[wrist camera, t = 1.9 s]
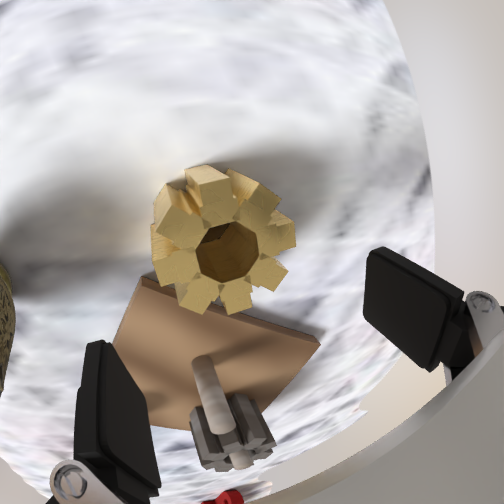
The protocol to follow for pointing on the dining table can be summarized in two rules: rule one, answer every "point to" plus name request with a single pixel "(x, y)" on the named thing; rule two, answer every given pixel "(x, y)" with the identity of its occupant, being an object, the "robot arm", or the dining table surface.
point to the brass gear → (224, 249)
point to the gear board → (203, 334)
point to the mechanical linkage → (227, 498)
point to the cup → (5, 323)
